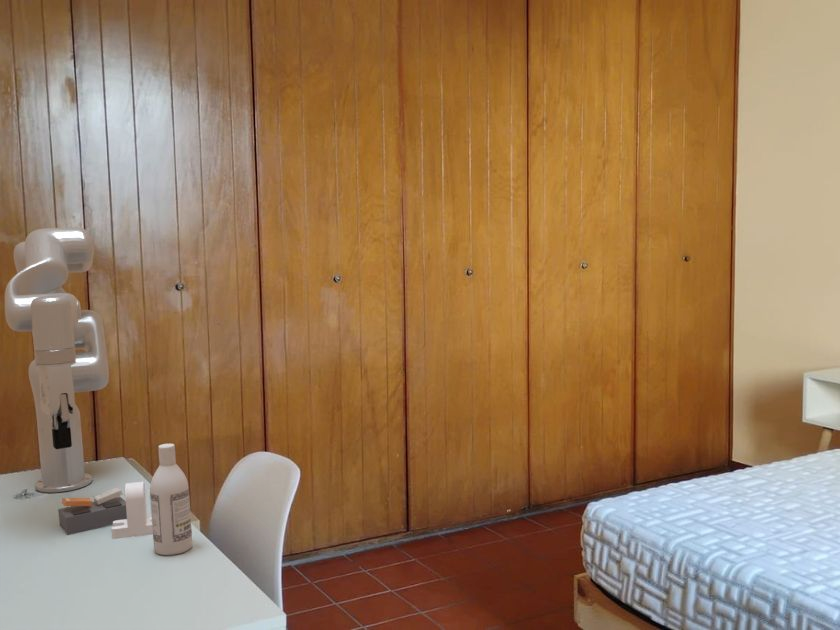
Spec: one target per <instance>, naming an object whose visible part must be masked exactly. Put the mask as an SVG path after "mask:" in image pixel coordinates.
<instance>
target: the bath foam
mask: <svg viewBox="0 0 840 630" xmlns="http://www.w3.org/2000/svg"><path fill="white" fill-rule="evenodd" d="M157 448H158V449H157V450H158V460H159V465H158V468H157V469H156V470H155V472H154V474H153V476H152V479H151V482H150V486H149V487H150V488H149V496H150V510H151V511H150V514H151V517H152V528H153V534H152V540H153V550H154V552H155V553H156V554H157V555H161V556H175V555H179V554H183V553H185V552H187V551H189V550H190V549H191V548H192V546H193V535H192V534H193V531H192V518H191V517H192V516H191V501H190V489H189V488H190V487H189V481H188V479H187V477H186V474H185V473H184V471H183V470H182V469H181V468H180V466H179V465H178V464H177V463H176V462H177V459H176V447H175V444H174V443H163V444H159V445H158V447H157Z"/></svg>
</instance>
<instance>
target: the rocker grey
mask: <svg viewBox="0 0 840 630" xmlns="http://www.w3.org/2000/svg"><path fill="white" fill-rule="evenodd" d="M123 494H124V493H123V491H122V489H121V488H119V486H117V487H114V488H112V489H110V490H107V491H105V492H101V493H99V494H97V495H95V496H93V500H94V501H95V502H96V503H97V504H98V505H99V504H101V503H103V502H106V501H108V500H111V499H113V498H115V497H119V496H120V497H121V496H122V495H123ZM94 501H93V502H94Z"/></svg>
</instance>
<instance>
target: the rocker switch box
mask: <svg viewBox="0 0 840 630" xmlns="http://www.w3.org/2000/svg"><path fill="white" fill-rule="evenodd" d="M57 512H58V522H59V526H60V527H61V529H62V530H63V531H64V533H65V534H66V535H67V536H68V535H74V534H79V533H82V532H87V531H90V530H96V529H101V528H105V527H108V526H113V521H116V520H124V519H127V512H126V499H124V498H123V497H121V495H120V496H118V497H115V498H113V499H111V500H108V501H106V502H103V503H101V504H99V505H98V504H97V503H96V502H95V501H92V506H64V507H62V508H61V507H60V508H58V510H57Z"/></svg>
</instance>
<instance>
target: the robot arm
mask: <svg viewBox="0 0 840 630" xmlns="http://www.w3.org/2000/svg"><path fill="white" fill-rule="evenodd" d="M94 254H95V247H94V242H93V238H92V236H91V234H90V233H89V231H88V230H86V229H85V228H82V227H55V228H54V227H49V228H48V227H45V228H38V229H35V230H33V231H31V232H30V233H28V235H26V238H25V241H22V242H19V243H18V244H17V245H15V247H14V249H13V261H14V267H15V270H16V274H15V275H14V276H13V277H12V278H11V279H10V280H9V281H8V283H7V284H6V286H5V287H6V288H5V291H4V316H5V321H6V324H7V325H8V327H9V328H10V329H11V330H12V331H15V332H20V333H23V332H31V334H32V339H33V349H34V350H33V351H34V352H33V353H34V359H33V360H32V361H31V362H30V363H29V366H28V377H29V378H28V379H29V382H30V387H31V391H32V395H33V400H34V406H35V408H34V409H35V414H36V415H35V416H36V427H37V437H38V450H39V461H40V473H41V479H40V480H37V482H35V484H34V486H35V487H34V489H35V490H36V491H38V492H40V493H61V492H62V493H63V492H69V491H74V490H78V489H81V488H83V487H86V486H88V485H89V484H91V483H92V481H93V476H92V475H91V474H89V473H86V472H85V471H86V470H85V460H84V459H85V458H84V447H83V435H82V434H83V433H82V421H81V419H82V418H81V412H80V409H79V407H78V405H77V404H76V397H75V396H76V395H75V393H84V392H94V391H99V390H103V389H105V388H106V387H107V386H108V384H109V381H110V380H109V379H110V378H109V377H110V371H109V370H110V369H109V362H108V355H107V354H108V353H107V346H106V345H107V344H106V337H105V329H104V324H103V320H102V317H101V316H100V314H99V313H98V312H96V311H94V310H92V309H82V308H81V307H82V306H81V302H80V300H78V299H77V297H76V296H75V295H74V294H72V293H69V292H66V290H65V288H63V287H62V286H64V285H65V283H66V282H67V281H68V278H69V274H75V273H77V274H78V273H85V272H88V271H90V269H91V268H92V265H93V260H94ZM76 350H84V351H80V352H76Z"/></svg>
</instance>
